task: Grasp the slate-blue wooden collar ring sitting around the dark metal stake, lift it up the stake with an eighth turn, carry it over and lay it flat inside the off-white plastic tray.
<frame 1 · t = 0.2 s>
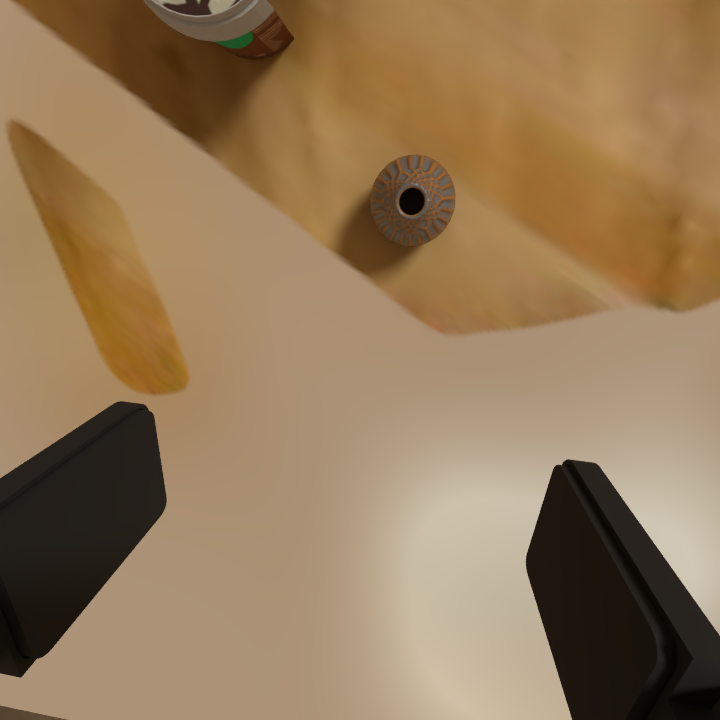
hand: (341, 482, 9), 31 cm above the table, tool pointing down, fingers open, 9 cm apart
vase: (412, 202, 35), on the table
food container: (230, 20, 32), on the table
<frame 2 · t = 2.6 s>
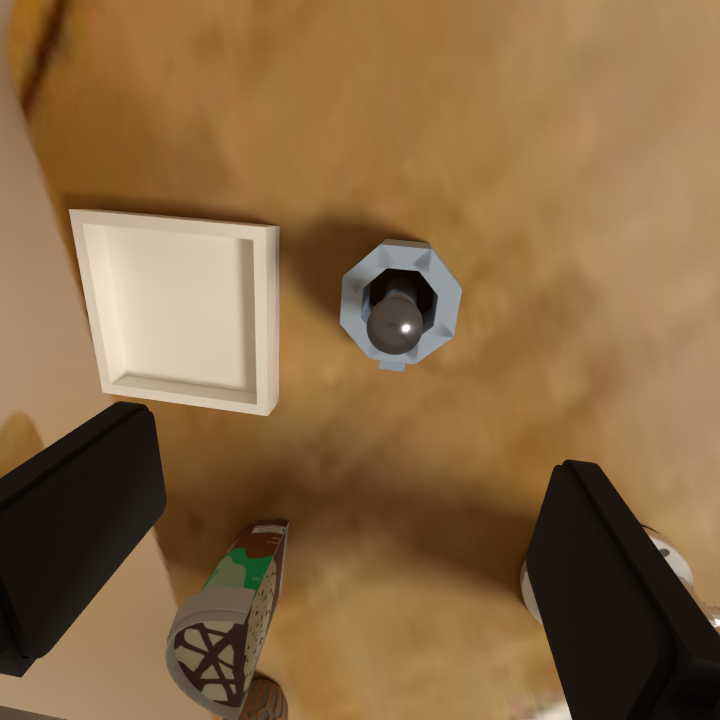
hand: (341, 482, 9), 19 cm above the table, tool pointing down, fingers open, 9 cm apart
stake: (401, 291, 26), on the table
vase: (266, 687, 45), on the table
food container: (254, 549, 37), on the table
tray: (194, 310, 29), on the table
ring: (401, 291, 26), on the table
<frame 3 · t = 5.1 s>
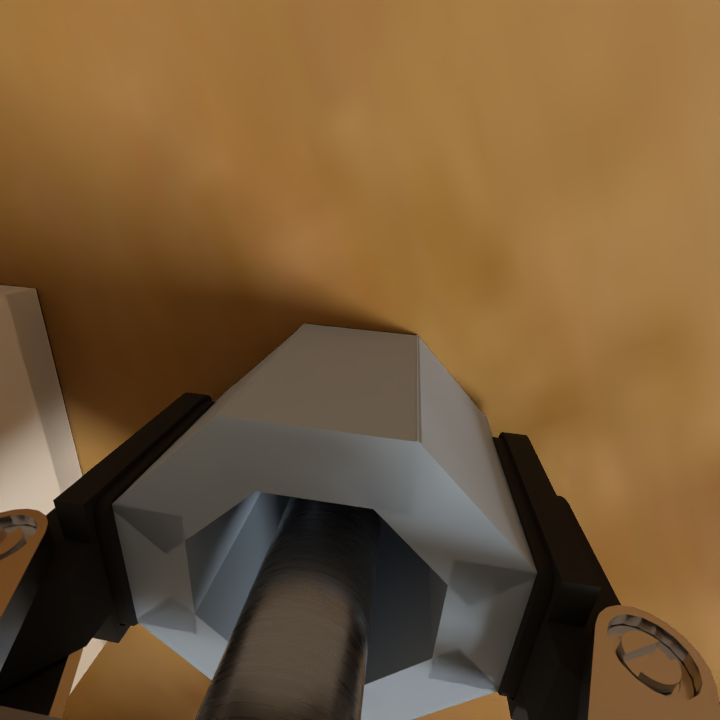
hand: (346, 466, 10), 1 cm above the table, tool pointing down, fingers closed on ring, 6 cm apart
stake: (352, 445, 11), on the table
ring: (352, 445, 11), on the table, touching gripper
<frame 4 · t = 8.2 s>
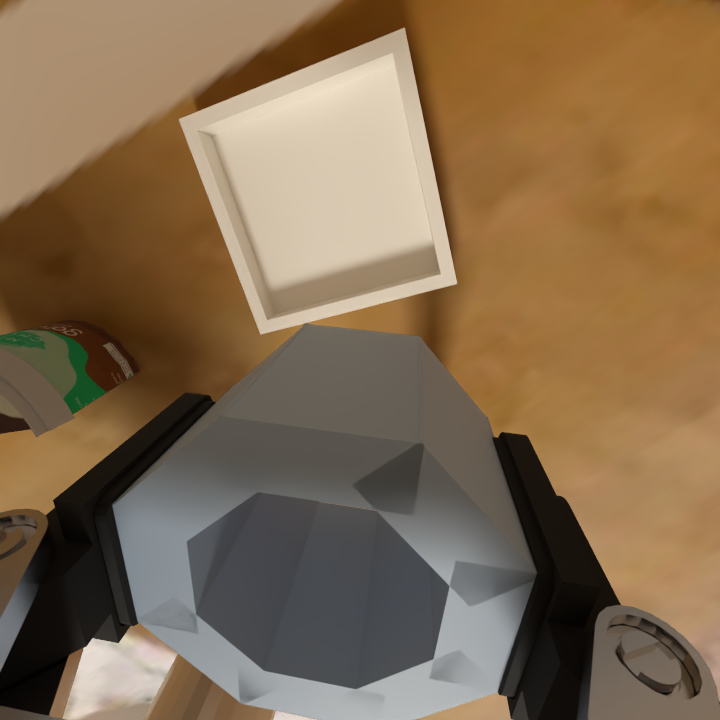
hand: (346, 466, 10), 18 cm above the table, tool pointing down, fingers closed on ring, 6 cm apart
food container: (75, 343, 31), on the table
tray: (330, 204, 25), on the table
ring: (353, 445, 11), point 17 cm above the table, touching gripper
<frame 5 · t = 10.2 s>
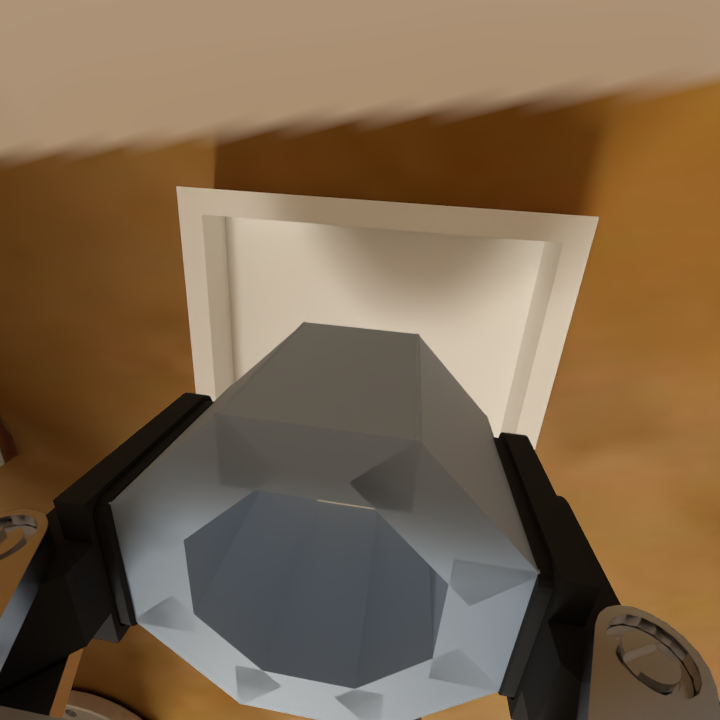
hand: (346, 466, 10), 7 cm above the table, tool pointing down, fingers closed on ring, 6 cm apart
tray: (369, 366, 17), on the table
ring: (352, 444, 10), point 6 cm above the table, touching gripper
when the fingers open (4 cm above the table, at t = 11.8 s): ring drops 2 cm, resting on tray.
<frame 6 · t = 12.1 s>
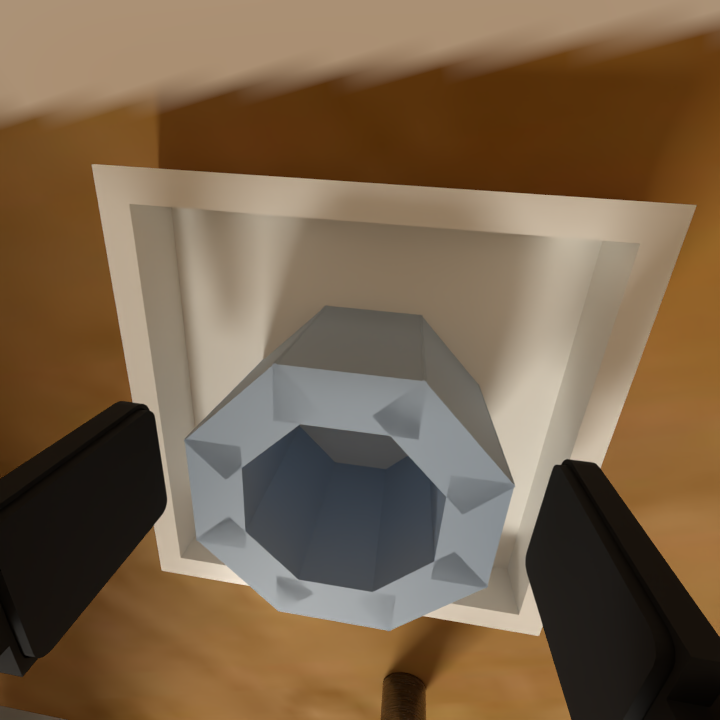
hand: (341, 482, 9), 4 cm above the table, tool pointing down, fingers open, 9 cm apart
stake: (404, 686, 18), on the table
tray: (363, 398, 13), on the table
ring: (364, 411, 12), point 1 cm above the table, touching tray
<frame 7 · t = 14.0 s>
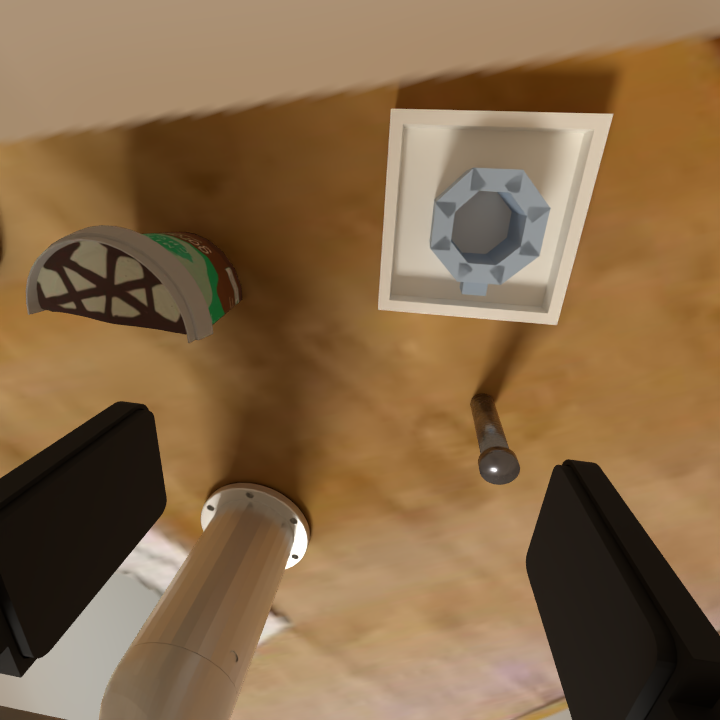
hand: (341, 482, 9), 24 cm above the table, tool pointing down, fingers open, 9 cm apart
stake: (482, 403, 34), on the table
food container: (190, 255, 33), on the table
tray: (475, 221, 28), on the table
ring: (478, 223, 28), point 1 cm above the table, touching tray
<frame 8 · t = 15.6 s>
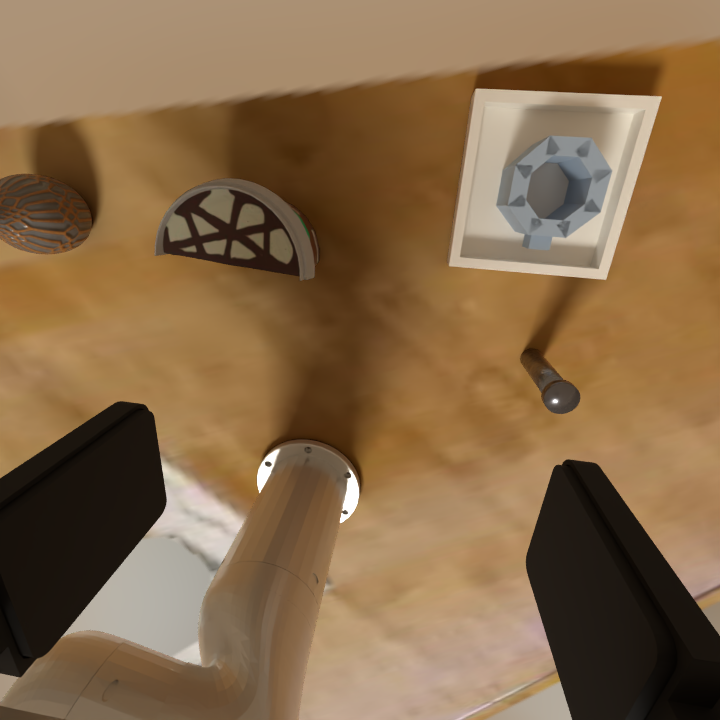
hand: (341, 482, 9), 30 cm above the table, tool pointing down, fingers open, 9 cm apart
stake: (530, 358, 38), on the table
vase: (74, 214, 39), on the table
food container: (275, 220, 37), on the table
tray: (535, 190, 33), on the table
ring: (539, 190, 32), point 1 cm above the table, touching tray
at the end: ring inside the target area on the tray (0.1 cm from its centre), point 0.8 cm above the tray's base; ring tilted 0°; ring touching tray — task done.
